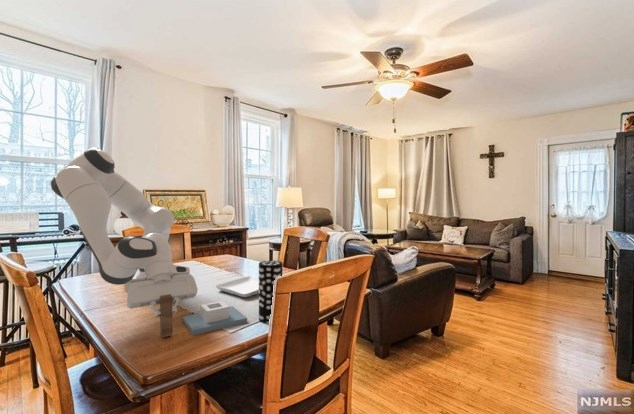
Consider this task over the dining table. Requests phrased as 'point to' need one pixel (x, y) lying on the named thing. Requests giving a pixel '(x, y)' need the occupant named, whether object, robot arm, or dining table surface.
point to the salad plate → (241, 286)
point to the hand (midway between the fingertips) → (166, 314)
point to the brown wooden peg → (166, 316)
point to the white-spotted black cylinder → (267, 287)
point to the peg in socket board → (213, 318)
